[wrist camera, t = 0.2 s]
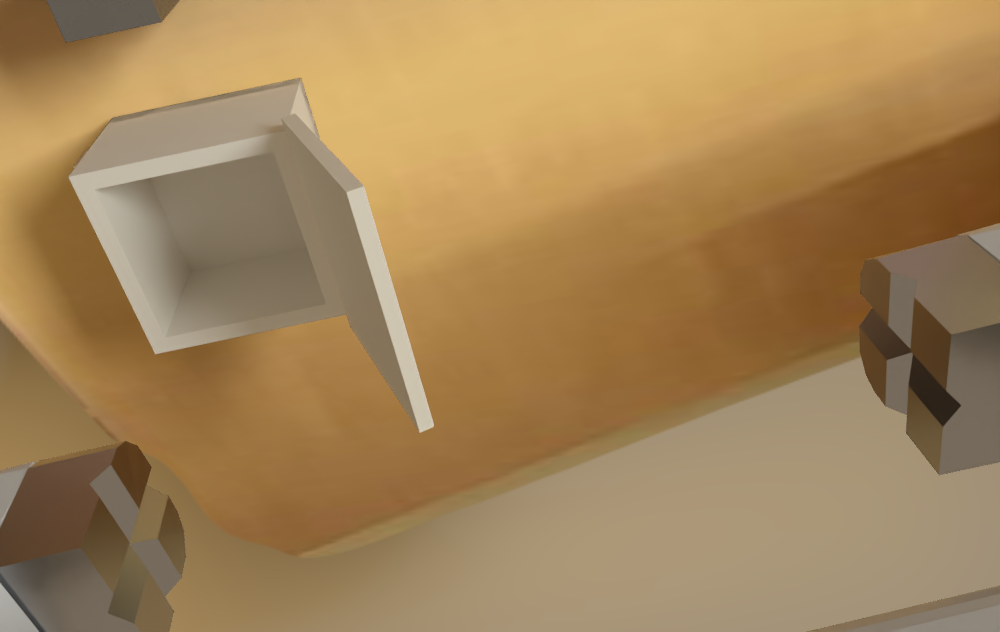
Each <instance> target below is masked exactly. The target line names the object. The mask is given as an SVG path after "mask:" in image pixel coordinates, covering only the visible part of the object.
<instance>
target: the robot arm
mask: <svg viewBox="0 0 1000 632" xmlns="http://www.w3.org/2000/svg"><path fill="white" fill-rule="evenodd" d="M860 294H861V295H862V296H863V297H864V298H865V300H866V301H867V302H868V303H869V304H870V305H871V306H872V309H871V310H870V312H869V313H868V315H867V316H866V318H865V319H864V320H863V322H862V323H861V325H860V326H859V336H860V354H861V358H862V361H863V365H864V369H865V373H866V376H867V378H868V380H869V382H870V384H871V386H872V388H873V390H874V391H875V393H876V394H877V396H878V397H879V398H880V399H881V401H882V402H883V404H884V405H885V406H886V407H889V408H891V409H894V410H896V411H898V412H901V413H904V414H906V415H907V425H906V434H907V435H908V436H909V437H910V439H911V440H912V441H913V442H914V444H915V445H916V446H917V448H918V449H919V450H920V451H921V453H922V454H923V455H924V456H925V458H926V459H927V460H928V462H929V463H930V464H931V465H932V467H933V468H934V469H935V470H936V472H937V473H938V474H939V475H942V474H947V473H951V472H955V471H960V470H965V469H970V468H975V467H979V466H983V465H988V464H993V463H998V462H1000V223H999V224H996V225H992V226H988V227H985V228H981V229H978V230H974V231H970V232H967V233H963V234H960V235H957V236H956V237H953V238H949V239H945V240H941V241H938V242H934V243H930V244H926V245H922V246H918V247H914V248H910V249H907V250H903V251H899V252H895V253H891V254H887V255H883V256H879V257H875V258H872V259H868V260H865V262H864V265H863V268H862V271H861V274H860ZM150 470H151V466H150V464H149V462H148V461H147V459H146V458H145V456H144V455H143V453H142V452H141V450H140V449H139V447H138V446H137V445H135V444H132V443H129V442H127V441H124V442H120V443H115V444H111V445H106V446H102V447H97V448H93V449H88V450H84V451H79V452H76V453H71V454H66V455H62V456H57V457H53V458H48V459H44V460H40V461H38V462H31V463H27V464H23V465H19V466H15V467H11V468H6V469H3V470H0V632H169V630H170V626H171V622H172V617H173V613H174V610H173V609H172V607H171V606H170V604H169V603H168V601H167V599H166V598H165V596H166V595H167V594H168V593H169V591H170V590H171V589H172V588H173V587H174V586H175V585H176V583H177V582H178V581H179V580H180V579H181V578H182V573H183V568H184V562H185V558H186V553H185V542H184V541H185V539H184V530H183V527H182V524H181V521H180V518H179V515H178V512H177V510H176V508H175V506H174V505H173V503H172V501H171V499H170V498H169V496H168V495H166V494H164V493H162V492H160V491H158V490H156V489H154V488H152V487H150V486H148V485H146V484H147V481H148V477H149V474H150ZM808 632H1000V586H996V587H991V588H988V589H983V590H979V591H975V592H971V593H967V594H962V595H958V596H954V597H950V598H946V599H941V600H937V601H933V602H929V603H925V604H921V605H916V606H912V607H908V608H904V609H900V610H895V611H891V612H887V613H883V614H879V615H875V616H871V617H866V618H862V619H858V620H854V621H850V622H845V623H842V624H837V625H833V626H829V627H824V628H820V629H816V630H812V631H808Z"/></svg>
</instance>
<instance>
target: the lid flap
mask: <svg viewBox="0 0 1000 632" xmlns="http://www.w3.org/2000/svg"><path fill="white" fill-rule="evenodd" d="M281 121H282V123H283V126H284V129H285V132H286V135H287V138H288V141H289V144H290V147H291V150H292V153H293V156H294V159H295V162H296V165H297V168H298V171H299V174H300V177H301V180H302V183H303V186H304V189H305V192H306V195H307V198H308V201H309V204H310V207H311V210H312V213H313V216H314V219H315V222H316V225H317V228H318V231H319V234H320V237H321V240H322V243H323V246H324V249H325V252H326V255H327V258H328V261H329V264H330V267H331V270H332V273H333V276H334V279H335V282H336V285H337V288H338V291H339V294H340V297H341V300H342V303H343V306H344V309H345V312H346V315H347V318H348V321H349V324H350V327H351V328H352V330H353V332H354V333H355V335H356V336H357V338H358V339H359V341H360V342H361V344H362V345H363V347H364V348H365V350H366V351H367V353H368V354H369V356H370V357H371V359H372V360H373V362H374V364H375V365H376V367H377V368H378V370H379V371H380V373H381V374H382V376H383V377H384V379H385V380H386V382H387V383H388V385H389V386H390V388H391V389H392V391H393V393H394V394H395V396H396V397H397V399H398V400H399V402H400V403H401V405H402V406H403V408H404V409H405V411H406V412H407V414H408V415H409V417H410V418H411V420H412V421H413V423H414V425H415V426H416V428H417V429H418V431H419V432H420V433H421V432H423V431H425V430H427V429H430V428H432V427H434V424H433V420H432V417H431V413H430V410H429V407H428V403H427V400H426V396H425V393H424V389H423V386H422V383H421V379H420V376H419V372H418V369H417V366H416V362H415V359H414V355H413V352H412V348H411V345H410V342H409V338H408V335H407V331H406V328H405V325H404V321H403V318H402V314H401V311H400V307H399V304H398V301H397V297H396V294H395V290H394V287H393V284H392V280H391V277H390V273H389V270H388V266H387V263H386V260H385V256H384V253H383V249H382V246H381V243H380V239H379V236H378V232H377V229H376V226H375V222H374V219H373V215H372V212H371V208H370V205H369V202H368V198H367V195H366V191H365V188H364V186H363V184H362V183H361V182H360V181H359V180H358V179H357V178H356V177H355V176H354V175H353V174H352V173H351V172H350V171H349V170H348V169H347V168H346V167H345V165H344V164H343V163H342V162H341V161H340V160H339V159H338V158H337V157H336V156H335V155H334V154H333V153H332V152H331V151H330V150H329V149H328V148H327V147H326V145H325V144H324V143H323V142H322V141H321V140H320V139H319V138H318V137H317V136H316V135H315V134H314V133H313V132H312V131H311V130H310V129H309V128H308V126H307V125H306V124H305V123H304V122H303V121H302V120H301V119H300V118H299V117H298V116H297V115H296V114H291V115H288V116H285V117H282V118H281Z"/></svg>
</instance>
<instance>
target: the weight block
mask: <svg viewBox="0 0 1000 632" xmlns="http://www.w3.org/2000/svg"><path fill="white" fill-rule="evenodd" d="M178 2H179V0H47V3H48V5H49V7H50V9H51V11H52V14H53V16H54V18H55V20H56V23H57V25H58V27H59V29H60V31H61V34H62V36H63V38H64V40H65V42H71V41H76V40H80V39H85V38H90V37H94V36H99V35H104V34H108V33H113V32H118V31H122V30H127V29H132V28H136V27H141V26H146V25H150V24H155V23H160V22H162V21H163V20H164V18H165V17H166V16H167V15H168V14H169V12H170V11H171V10H172V9H173V8H174V6H175V5H176V4H177V3H178Z"/></svg>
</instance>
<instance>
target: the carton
mask: <svg viewBox="0 0 1000 632" xmlns="http://www.w3.org/2000/svg"><path fill="white" fill-rule="evenodd" d="M291 114H296V115H297V116H298V117H299V118H300V119H301V120H302V121H303V122H304V123H305V124H306V125H307V126H308V128H309V129H310V130H311V131H312V132H313V133H314V134H315V135H316V136H317V137H318V138H319V139H320V137H319V134H318V131H317V128H316V124H315V121H314V118H313V115H312V112H311V108H310V105H309V102H308V99H307V96H306V92H305V89H304V86H303V83H302V80H301V78H297V79H293V80H288V81H283V82H278V83H274V84H269V85H264V86H260V87H255V88H250V89H246V90H241V91H236V92H232V93H227V94H222V95H217V96H213V97H208V98H203V99H199V100H194V101H189V102H185V103H180V104H175V105H170V106H166V107H161V108H156V109H152V110H147V111H142V112H138V113H133V114H128V115H124V116H119V117H114V118H112V119H111V121H110V122H109V123H108V125H107V126H106V127H105V129H104V130H103V131H102V133H101V134H100V135H99V137H98V138H97V139H96V141H95V142H94V143H93V145H92V146H91V147H90V149H89V150H85V151H84V152H83V154H82V155H81V156H80V158H79V159H78V160H77V162H76V163H75V164H74V166H73V169H74V170H73V171H72V173H71V174H70V175H69V180H70V182H71V184H72V186H73V188H74V190H75V192H76V194H77V196H78V198H79V200H80V202H81V204H82V206H83V208H84V210H85V212H86V214H87V216H88V218H89V220H90V222H91V224H92V226H93V228H94V230H95V232H96V234H97V237H98V239H99V241H100V243H101V245H102V247H103V249H104V251H105V253H106V255H107V257H108V259H109V261H110V263H111V265H112V267H113V269H114V271H115V273H116V275H117V277H118V279H119V281H120V283H121V285H122V287H123V289H124V291H125V294H126V296H127V298H128V300H129V302H130V304H131V306H132V308H133V310H134V312H135V314H136V316H137V318H138V320H139V322H140V324H141V326H142V328H143V330H144V332H145V334H146V336H147V338H148V340H149V342H150V344H151V346H152V348H153V351H154V353H155V354H159V353H164V352H168V351H173V350H178V349H183V348H188V347H192V346H197V345H202V344H207V343H212V342H216V341H221V340H226V339H231V338H236V337H241V336H245V335H250V334H255V333H260V332H265V331H269V330H274V329H279V328H284V327H289V326H293V325H298V324H303V323H308V322H313V321H317V320H322V319H327V318H332V317H337V316H342V315H346V312H345V309H344V306H343V303H342V300H341V297H340V294H339V291H338V288H337V285H336V282H335V279H334V276H333V273H332V270H331V267H330V264H329V261H328V258H327V255H326V252H325V249H324V246H323V243H322V240H321V237H320V234H319V231H318V228H317V225H316V222H315V219H314V216H313V213H312V210H311V207H310V204H309V201H308V198H307V195H306V192H305V189H304V186H303V183H302V180H301V177H300V174H299V171H298V168H297V165H296V162H295V159H294V156H293V153H292V150H291V147H290V144H289V141H288V138H287V135H286V132H285V129H284V126H283V123H282V121H281V118H282V117H285V116H288V115H291Z"/></svg>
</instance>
